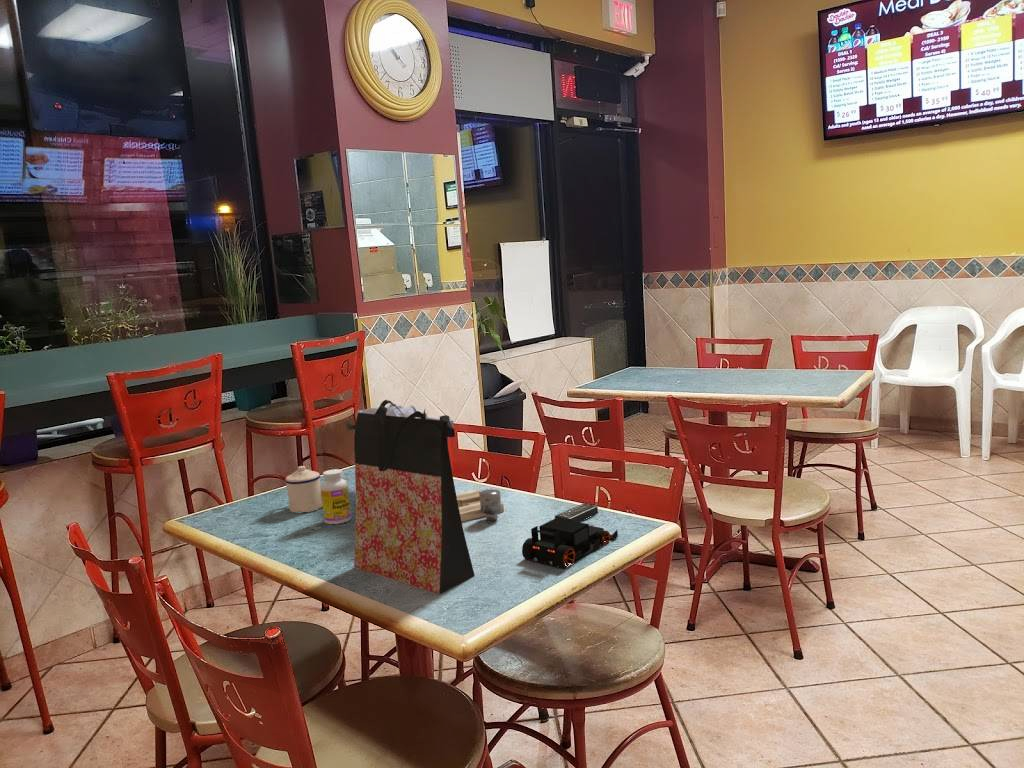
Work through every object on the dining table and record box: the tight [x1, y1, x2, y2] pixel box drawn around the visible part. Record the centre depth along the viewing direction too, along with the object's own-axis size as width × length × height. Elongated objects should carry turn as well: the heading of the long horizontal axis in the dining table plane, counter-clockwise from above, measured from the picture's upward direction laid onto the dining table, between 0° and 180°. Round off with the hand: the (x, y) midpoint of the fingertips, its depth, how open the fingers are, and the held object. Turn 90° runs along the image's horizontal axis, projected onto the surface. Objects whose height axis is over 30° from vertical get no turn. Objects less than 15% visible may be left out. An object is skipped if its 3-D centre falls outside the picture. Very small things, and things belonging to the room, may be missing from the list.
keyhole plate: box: [456, 489, 505, 523], centre depth 192 cm, size 16×15×2 cm
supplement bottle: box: [320, 468, 352, 525], centre depth 192 cm, size 7×7×13 cm
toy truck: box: [521, 517, 619, 569], centre depth 160 cm, size 10×20×7 cm, turn 139°
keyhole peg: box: [479, 488, 502, 523], centre depth 183 cm, size 5×5×7 cm
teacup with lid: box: [284, 465, 323, 513], centre depth 205 cm, size 12×9×12 cm
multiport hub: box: [554, 502, 599, 523], centre depth 179 cm, size 4×11×2 cm, turn 136°
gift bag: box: [345, 399, 476, 595], centre depth 154 cm, size 29×14×35 cm, turn 49°
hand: (438, 436), depth 181 cm, fingers open, 7 cm apart
